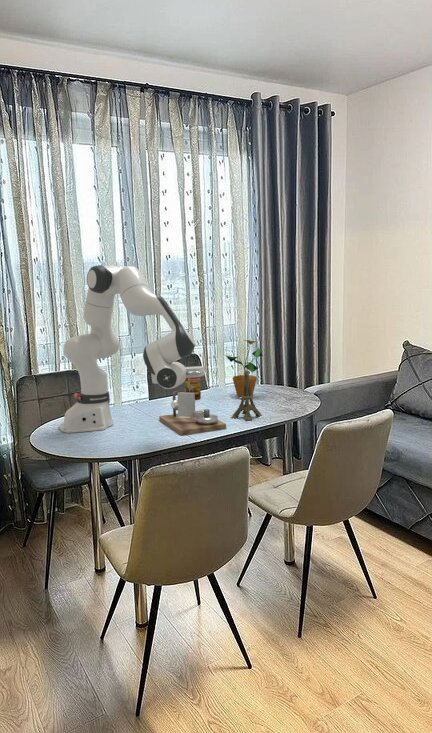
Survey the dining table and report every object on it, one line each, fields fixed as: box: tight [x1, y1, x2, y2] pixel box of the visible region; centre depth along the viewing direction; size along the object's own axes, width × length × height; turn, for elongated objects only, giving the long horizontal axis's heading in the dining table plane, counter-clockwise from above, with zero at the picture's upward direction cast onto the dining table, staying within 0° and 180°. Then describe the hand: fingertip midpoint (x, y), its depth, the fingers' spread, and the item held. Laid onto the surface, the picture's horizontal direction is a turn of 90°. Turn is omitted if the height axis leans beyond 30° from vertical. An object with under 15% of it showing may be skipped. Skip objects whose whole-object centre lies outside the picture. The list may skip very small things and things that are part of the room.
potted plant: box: [225, 339, 264, 398], centre depth 287 cm, size 18×19×30 cm
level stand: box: [158, 388, 227, 436], centre depth 240 cm, size 20×25×13 cm
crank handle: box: [170, 392, 219, 425], centre depth 236 cm, size 20×9×12 cm, turn 80°
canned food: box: [184, 377, 202, 401], centre depth 286 cm, size 8×8×12 cm
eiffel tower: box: [230, 367, 263, 422], centre depth 249 cm, size 11×11×25 cm
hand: (180, 371), depth 223 cm, fingers open, 8 cm apart
